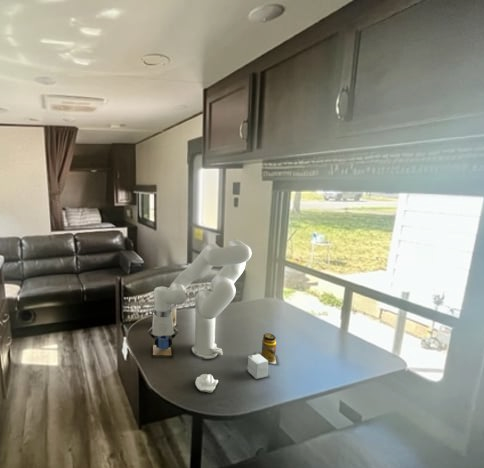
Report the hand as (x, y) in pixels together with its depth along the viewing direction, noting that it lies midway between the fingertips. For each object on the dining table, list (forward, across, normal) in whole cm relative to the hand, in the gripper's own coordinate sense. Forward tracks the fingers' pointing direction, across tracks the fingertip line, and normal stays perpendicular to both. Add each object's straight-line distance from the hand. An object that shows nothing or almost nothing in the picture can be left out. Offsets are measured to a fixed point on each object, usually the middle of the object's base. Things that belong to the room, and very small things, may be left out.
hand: (163, 345), depth 148 cm
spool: (0, 0, 0) cm, 0 cm away
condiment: (+5, +49, -4) cm, 49 cm away
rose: (+4, +17, -24) cm, 30 cm away
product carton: (+5, +41, -16) cm, 44 cm away
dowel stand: (+3, -1, 0) cm, 4 cm away
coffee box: (+4, +3, +27) cm, 27 cm away
